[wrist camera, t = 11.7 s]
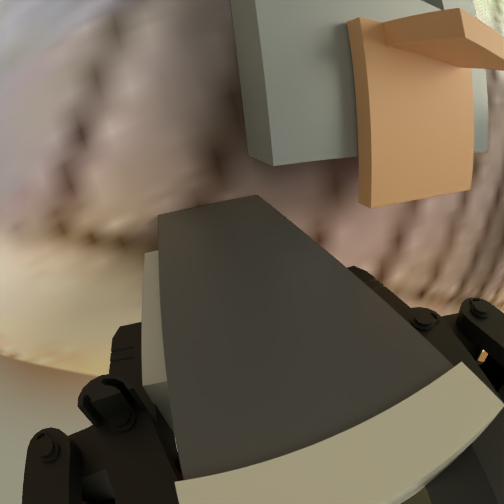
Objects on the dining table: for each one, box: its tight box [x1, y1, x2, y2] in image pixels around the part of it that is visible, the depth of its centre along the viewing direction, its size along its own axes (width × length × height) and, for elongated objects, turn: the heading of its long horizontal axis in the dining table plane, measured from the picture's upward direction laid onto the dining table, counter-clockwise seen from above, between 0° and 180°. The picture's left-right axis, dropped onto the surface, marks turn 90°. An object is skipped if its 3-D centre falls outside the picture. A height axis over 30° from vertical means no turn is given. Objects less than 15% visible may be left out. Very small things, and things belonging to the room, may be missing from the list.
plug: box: [158, 195, 504, 504], centre depth 8 cm, size 5×5×12 cm
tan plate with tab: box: [347, 8, 504, 208], centre depth 8 cm, size 7×7×4 cm
